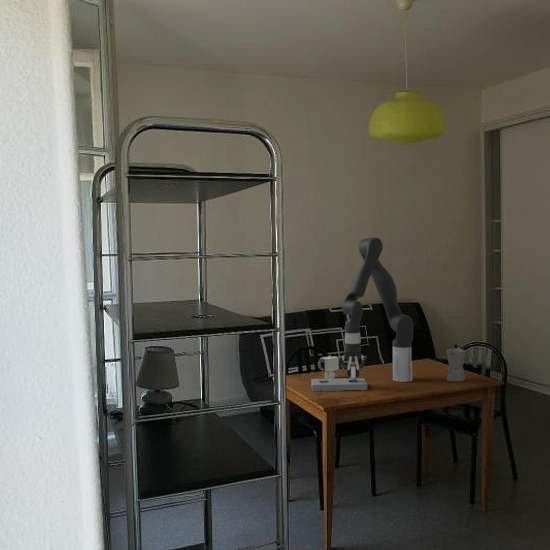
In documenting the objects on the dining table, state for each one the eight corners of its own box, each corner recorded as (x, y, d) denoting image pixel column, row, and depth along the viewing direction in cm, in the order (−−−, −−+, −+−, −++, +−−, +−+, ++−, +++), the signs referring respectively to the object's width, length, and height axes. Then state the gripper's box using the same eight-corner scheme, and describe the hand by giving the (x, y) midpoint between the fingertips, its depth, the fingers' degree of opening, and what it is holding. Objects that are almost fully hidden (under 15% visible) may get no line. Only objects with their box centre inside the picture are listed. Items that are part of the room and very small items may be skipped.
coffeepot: (461, 384, 304) (461, 347, 302) (442, 381, 309) (442, 346, 308) (470, 377, 317) (470, 342, 315) (451, 375, 322) (451, 340, 320)
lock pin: (356, 385, 304) (356, 360, 303) (357, 387, 300) (357, 361, 299) (348, 385, 304) (348, 360, 303) (349, 387, 300) (349, 361, 299)
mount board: (364, 384, 308) (364, 378, 307) (367, 390, 296) (367, 384, 295) (311, 384, 308) (311, 378, 308) (312, 391, 296) (312, 385, 296)
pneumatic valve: (342, 378, 320) (342, 355, 319) (321, 380, 316) (320, 357, 316) (338, 376, 325) (337, 353, 324) (317, 378, 322) (316, 355, 321)
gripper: (366, 340, 304) (366, 375, 305) (337, 340, 304) (337, 375, 305) (368, 342, 296) (368, 378, 297) (338, 343, 296) (339, 379, 298)
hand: (353, 376), depth 301 cm, fingers closed on lock pin, 3 cm apart
